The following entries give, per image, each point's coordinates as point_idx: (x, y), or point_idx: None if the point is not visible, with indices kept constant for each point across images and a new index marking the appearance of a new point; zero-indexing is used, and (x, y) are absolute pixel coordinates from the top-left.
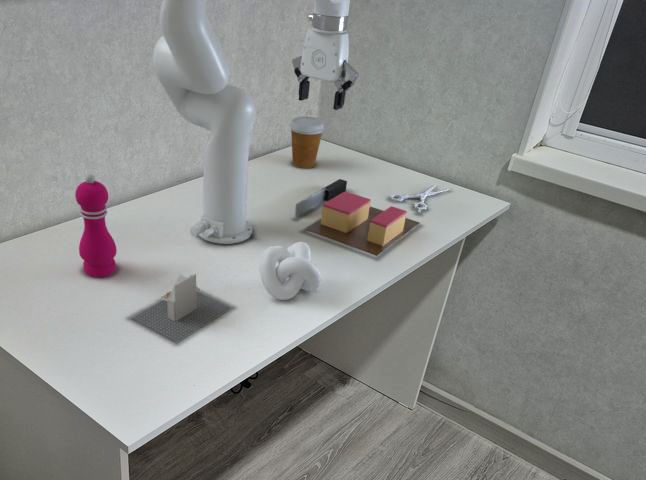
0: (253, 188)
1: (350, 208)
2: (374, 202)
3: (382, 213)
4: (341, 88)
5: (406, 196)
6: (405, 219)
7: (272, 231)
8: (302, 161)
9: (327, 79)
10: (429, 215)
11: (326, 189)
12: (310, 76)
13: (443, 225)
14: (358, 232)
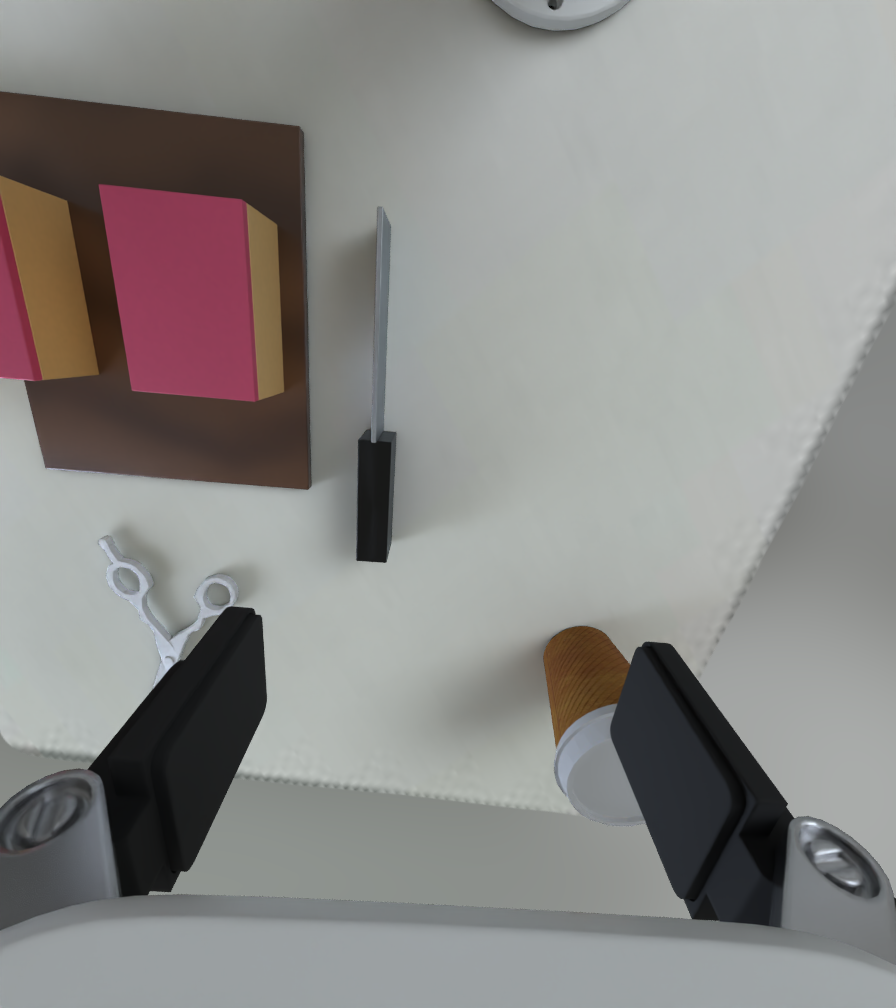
0: (643, 387)
1: (127, 237)
2: (259, 536)
3: (4, 281)
4: (24, 841)
5: (198, 616)
6: (92, 460)
7: (403, 48)
8: (575, 640)
9: (162, 941)
10: (84, 552)
11: (374, 450)
12: (668, 933)
13: (10, 513)
14: None
